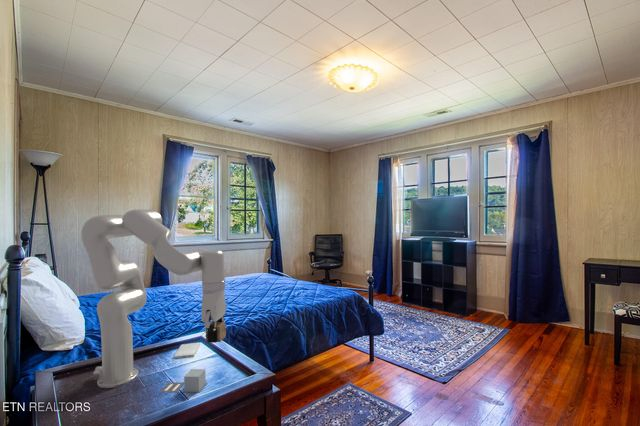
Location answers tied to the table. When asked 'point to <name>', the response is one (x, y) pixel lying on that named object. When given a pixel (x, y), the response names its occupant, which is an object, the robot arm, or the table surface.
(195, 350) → the hard drive
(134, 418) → the table surface
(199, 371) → the light grey cube
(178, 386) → the board
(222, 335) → the walnut block
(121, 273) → the robot arm
